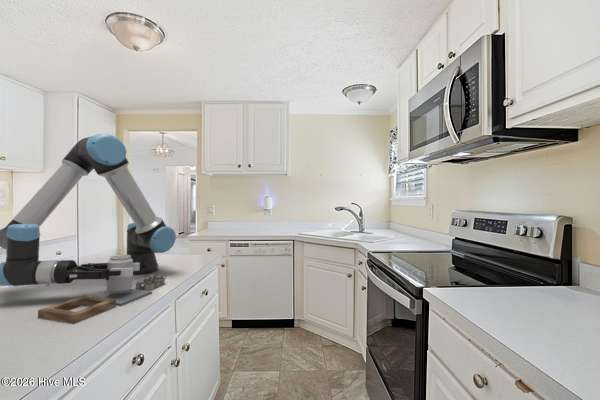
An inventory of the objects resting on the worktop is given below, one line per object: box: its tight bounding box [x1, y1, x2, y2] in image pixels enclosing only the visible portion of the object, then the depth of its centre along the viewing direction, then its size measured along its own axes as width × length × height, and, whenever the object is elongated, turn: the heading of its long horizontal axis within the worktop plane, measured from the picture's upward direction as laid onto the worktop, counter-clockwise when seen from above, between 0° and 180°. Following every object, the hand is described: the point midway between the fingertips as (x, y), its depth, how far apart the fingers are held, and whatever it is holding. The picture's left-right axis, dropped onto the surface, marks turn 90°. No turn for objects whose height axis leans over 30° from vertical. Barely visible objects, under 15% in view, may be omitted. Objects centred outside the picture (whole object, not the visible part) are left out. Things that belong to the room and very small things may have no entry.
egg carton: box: [133, 273, 167, 291], centre depth 111 cm, size 11×8×4 cm
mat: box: [90, 288, 153, 307], centre depth 98 cm, size 13×15×1 cm
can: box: [106, 254, 133, 293], centre depth 98 cm, size 8×8×12 cm
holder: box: [37, 295, 117, 325], centre depth 85 cm, size 13×13×2 cm
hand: (135, 269), depth 100 cm, fingers closed on can, 7 cm apart
